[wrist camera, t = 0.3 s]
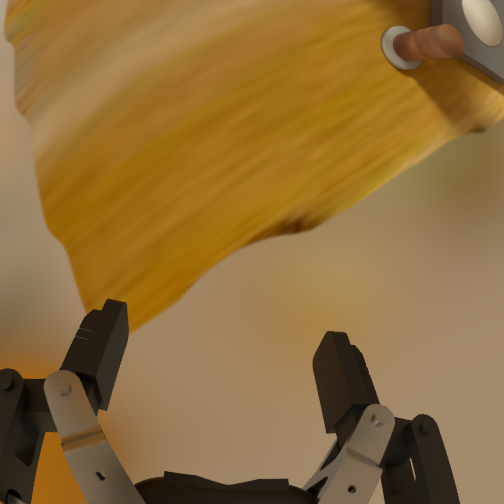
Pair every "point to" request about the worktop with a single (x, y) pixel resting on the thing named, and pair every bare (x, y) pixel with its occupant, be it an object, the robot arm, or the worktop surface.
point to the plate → (476, 31)
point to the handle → (420, 45)
